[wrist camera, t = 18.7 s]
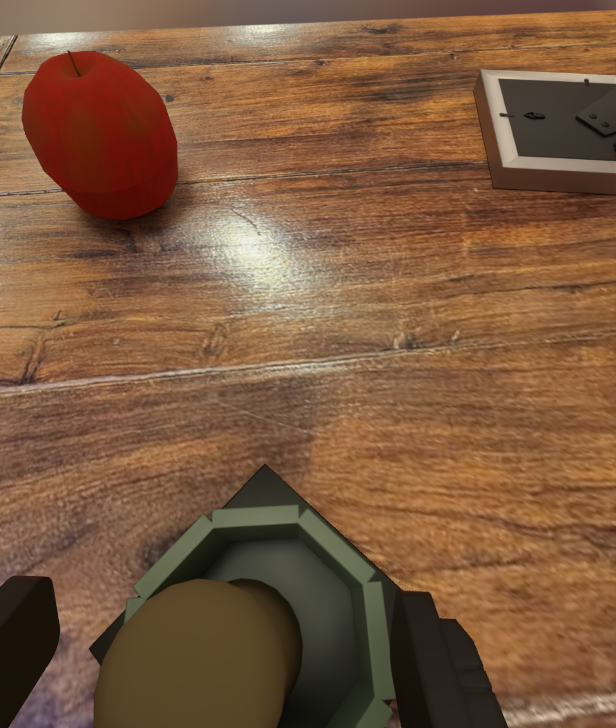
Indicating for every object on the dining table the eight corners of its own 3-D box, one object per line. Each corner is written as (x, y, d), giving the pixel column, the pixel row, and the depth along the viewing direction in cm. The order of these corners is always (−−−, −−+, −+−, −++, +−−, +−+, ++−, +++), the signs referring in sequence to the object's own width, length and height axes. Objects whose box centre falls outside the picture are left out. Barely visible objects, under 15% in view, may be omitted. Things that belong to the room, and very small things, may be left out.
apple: (47, 220, 36) (-55, 70, 25) (121, 152, 40) (59, 1, 30) (147, 258, 33) (78, 111, 23) (213, 182, 38) (179, 31, 28)
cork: (227, 553, 22) (167, 517, 13) (326, 625, 21) (344, 646, 11) (148, 674, 20) (-4, 744, 10) (254, 766, 18) (195, 953, 8)
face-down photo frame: (671, 99, 45) (473, 90, 45) (692, 70, 42) (482, 61, 43) (733, 201, 37) (493, 188, 38) (763, 172, 35) (506, 159, 35)
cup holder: (270, 883, 17) (254, 1009, 12) (96, 646, 21) (26, 661, 16) (434, 623, 21) (476, 630, 16) (266, 467, 25) (255, 433, 20)
